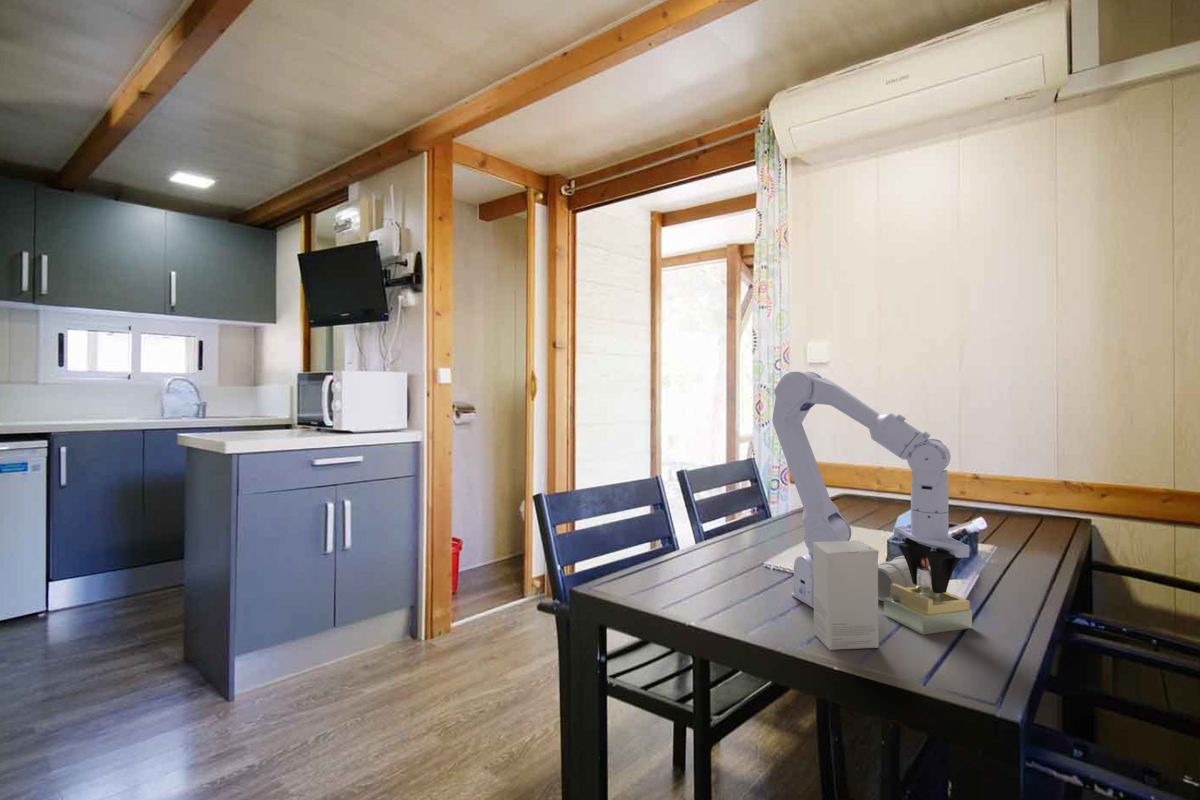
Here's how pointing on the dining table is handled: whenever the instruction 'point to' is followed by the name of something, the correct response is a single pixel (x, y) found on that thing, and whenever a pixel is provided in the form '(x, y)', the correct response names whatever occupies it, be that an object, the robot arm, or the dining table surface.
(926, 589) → the spout can
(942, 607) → the tan and green box
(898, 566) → the mug
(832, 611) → the skincare box
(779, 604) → the dining table surface
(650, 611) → the dining table surface
